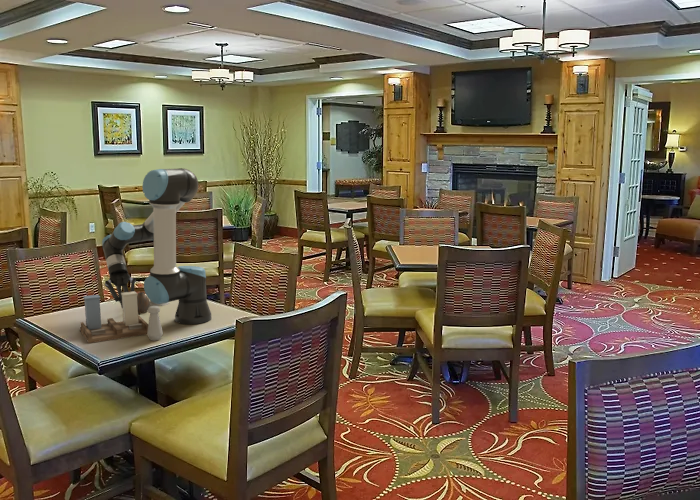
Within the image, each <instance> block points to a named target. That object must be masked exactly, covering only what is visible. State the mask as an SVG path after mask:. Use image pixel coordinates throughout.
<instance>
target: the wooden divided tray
mask: <svg viewBox="0 0 700 500" xmlns="http://www.w3.org/2000/svg"><path fill="white" fill-rule="evenodd" d="M106 322H107V323H101V328H98V329H91V330H88V328H87V327H86V323H85V322H83V321H81V322H80V332H81V334H82V335H83V337H84V338H85V340H86V342H87V343H88V344H92V343H98V342H105V341H113V340H117V339H124V338H130V337H137V336H142V335H143V336H144V335H147V331H148V325H149V323H148V322H147V321H145V320H144V319H143V318H142V317H141V316H140V315H139V314H138V324H134V325H127V326H126V325H125V324H124V322H123V320H122V321H116V320H115V319H114V318H113V317H110V318H107V320H106Z"/></svg>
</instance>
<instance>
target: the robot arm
mask: <svg viewBox="0 0 700 500" xmlns="http://www.w3.org/2000/svg"><path fill="white" fill-rule="evenodd" d="M198 191H199V179H198V178H197V176H196V174H195V173H194V172H193V171H191V170H190V169H187V168H184V167H183V168H182V167H181V168H158V169H152V170H149V171H148V172H147V174H146V175H145V176H144V178H143V180H142V192H143V195H144V197H145V198H146V199H147V200H148V203H149V205H150V206H151V207H152V208H153V211H152V212H151V213H150V215H149V216H148V217H147V218H146V219H145V220H144V222H143V223H141V224H131V223H130V222H127V221H121V222H119V223H118V224H117V226H116V227H114V230H113V231H112V233H111V234H108V235H106V236H104V237H103V238H102V240H101V244H102V250H103V253H104V258H105V262H106V266H107V271H108V275H109V278H108V280H105V281H104V286H105V287H106V288H107V290H109V293H110V294H111V296H112V298H113V300H114V302H119V303H120V307H121V309H123V305H122V295H121V293H124V292H129V289H128V283H130V292H133V291H135V286H136V285H135V284H136V281H137V278H136V277H131V275H130V274H129V272H128V268H127V263H126V259H125V255H124V251H123V250H125V248H126V246H127V245H128V244H133V243H141V242H146V241H153V266H152V268H150V271H149V274H150V276H147V277H145V280H144V282H143V290H144V294H145V295H146V296H147V297H148V299H149V301H152V302H153V303H155V304H162V303H168V302H169V303H172V302H174V301H177V300H178V303H177V307H176V311H175V315H174V321H175V322H176V323H178V324H183V325H199V324H205V323H207V322H210V320H212V311H211V308H210V307H209V304H208V299H207V298H208V297H207V273H206V269H205V268H204V267H200V266H196V265H179V266H177V212H179V210H180V209H181V208H182V207H183V206H184V205H185V203H186V204H187V203H189V202H191V201H192V200H193V199H194V197H195V196H196V195H197V193H198ZM113 285H114V286H115V287H114V286H113ZM115 288H116V290H117V292H116V290H115ZM122 290H123V291H122Z"/></svg>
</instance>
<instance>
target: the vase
mask: <svg viewBox="0 0 700 500" xmlns="http://www.w3.org/2000/svg"><path fill="white" fill-rule="evenodd" d="M137 306H138V314H143V313H147V312H148V308H149V307H150V300H149V298H148V297H147V295H146V293H145V291H144V292H143V291H140V292H137Z"/></svg>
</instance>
